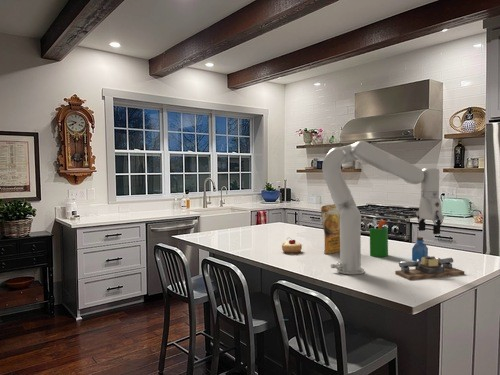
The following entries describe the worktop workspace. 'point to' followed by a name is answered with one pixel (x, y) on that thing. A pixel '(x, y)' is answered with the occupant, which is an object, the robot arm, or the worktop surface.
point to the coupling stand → (429, 272)
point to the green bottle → (379, 241)
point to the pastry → (291, 247)
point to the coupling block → (429, 262)
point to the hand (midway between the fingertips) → (429, 232)
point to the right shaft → (445, 262)
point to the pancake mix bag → (331, 228)
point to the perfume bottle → (419, 249)
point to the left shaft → (409, 265)
